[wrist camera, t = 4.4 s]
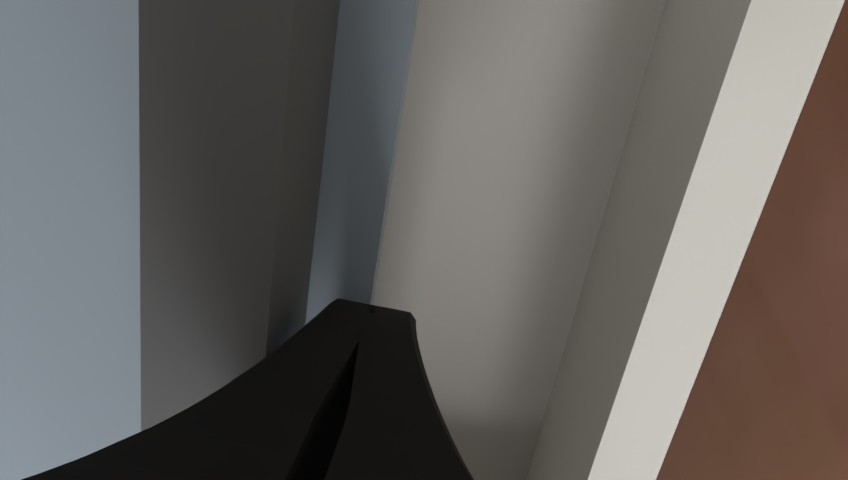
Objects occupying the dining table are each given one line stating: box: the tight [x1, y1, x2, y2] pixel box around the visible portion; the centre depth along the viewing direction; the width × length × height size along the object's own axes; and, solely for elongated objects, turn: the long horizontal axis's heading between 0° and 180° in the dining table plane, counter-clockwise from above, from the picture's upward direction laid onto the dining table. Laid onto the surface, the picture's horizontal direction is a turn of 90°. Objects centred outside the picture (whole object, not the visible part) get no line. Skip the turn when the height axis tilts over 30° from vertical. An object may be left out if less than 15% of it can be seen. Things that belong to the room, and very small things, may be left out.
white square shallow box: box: [373, 0, 845, 480], centre depth 14 cm, size 18×18×5 cm
